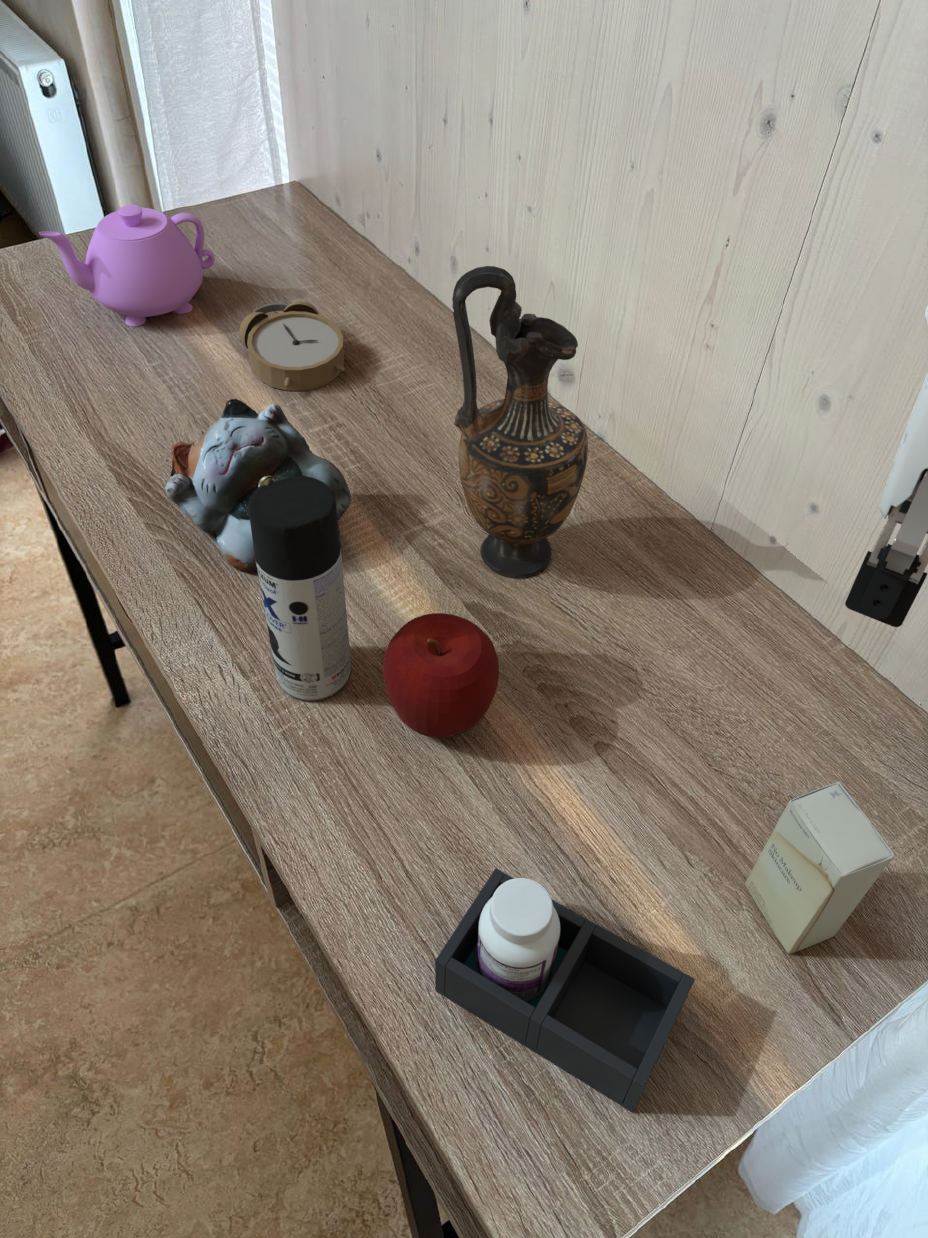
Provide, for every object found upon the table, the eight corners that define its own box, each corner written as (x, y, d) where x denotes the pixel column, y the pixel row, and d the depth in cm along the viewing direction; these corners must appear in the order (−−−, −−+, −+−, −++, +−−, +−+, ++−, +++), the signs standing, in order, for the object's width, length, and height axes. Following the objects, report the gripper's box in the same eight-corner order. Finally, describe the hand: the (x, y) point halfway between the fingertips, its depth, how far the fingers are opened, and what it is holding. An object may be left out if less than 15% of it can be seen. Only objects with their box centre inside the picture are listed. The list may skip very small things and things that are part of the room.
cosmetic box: (742, 884, 77) (783, 798, 68) (791, 865, 78) (838, 777, 69) (789, 959, 73) (840, 878, 64) (841, 937, 74) (897, 855, 65)
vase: (574, 595, 97) (615, 315, 74) (445, 589, 97) (447, 307, 75) (572, 514, 105) (608, 237, 82) (452, 508, 105) (456, 231, 83)
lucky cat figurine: (245, 600, 95) (157, 481, 88) (215, 562, 105) (135, 452, 98) (373, 509, 98) (299, 386, 90) (333, 480, 108) (263, 368, 100)
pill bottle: (504, 918, 74) (511, 851, 67) (566, 960, 72) (580, 896, 64) (460, 976, 71) (463, 913, 64) (524, 1022, 69) (534, 962, 62)
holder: (681, 1008, 70) (695, 978, 67) (632, 1113, 66) (644, 1087, 62) (492, 901, 75) (495, 867, 72) (434, 991, 71) (435, 960, 67)
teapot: (82, 353, 122) (53, 256, 113) (51, 298, 130) (21, 203, 121) (238, 311, 129) (223, 216, 120) (199, 261, 137) (182, 169, 128)
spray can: (267, 657, 91) (234, 485, 76) (339, 635, 93) (321, 464, 78) (288, 712, 87) (258, 542, 72) (363, 688, 89) (349, 518, 74)
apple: (473, 660, 91) (476, 583, 84) (513, 743, 85) (520, 667, 78) (372, 688, 89) (366, 611, 81) (406, 775, 83) (403, 700, 75)
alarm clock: (269, 382, 114) (220, 298, 121) (272, 413, 118) (224, 331, 125) (360, 356, 118) (308, 276, 124) (359, 387, 122) (309, 308, 128)
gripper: (1072, 424, 41) (922, 687, 54) (1130, 248, 51) (992, 504, 64) (888, 366, 44) (786, 630, 56) (977, 209, 54) (874, 463, 66)
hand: (895, 563), depth 60 cm, fingers open, 9 cm apart
